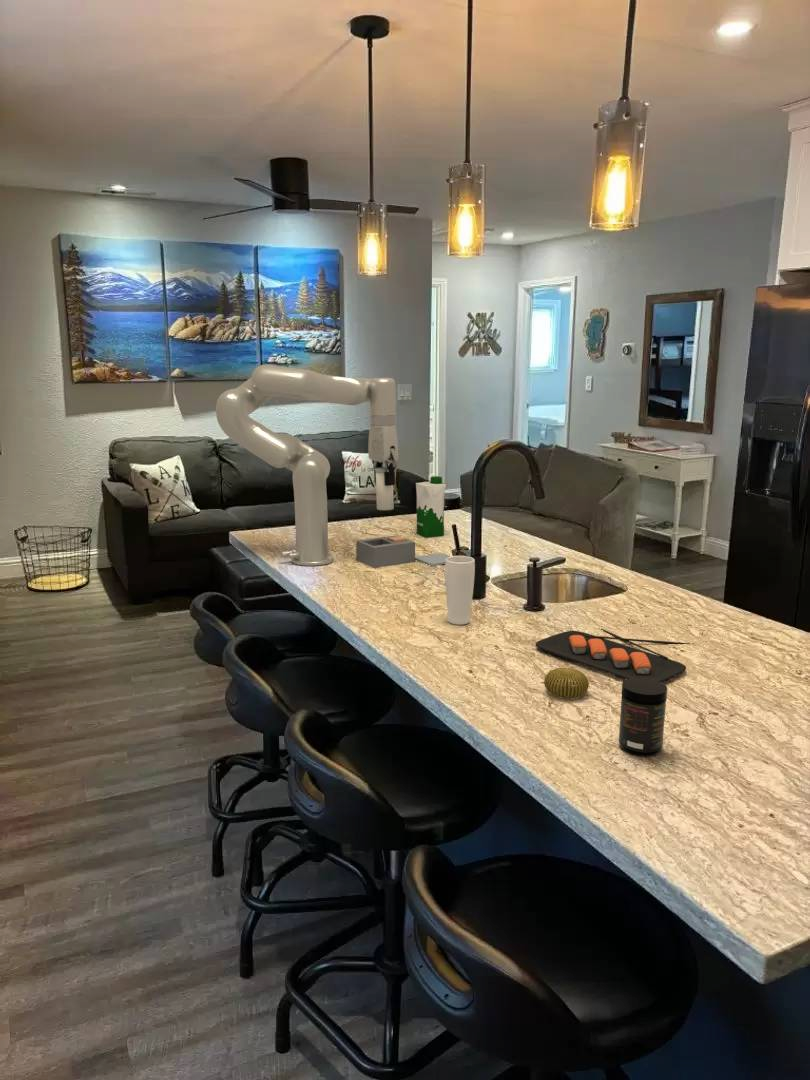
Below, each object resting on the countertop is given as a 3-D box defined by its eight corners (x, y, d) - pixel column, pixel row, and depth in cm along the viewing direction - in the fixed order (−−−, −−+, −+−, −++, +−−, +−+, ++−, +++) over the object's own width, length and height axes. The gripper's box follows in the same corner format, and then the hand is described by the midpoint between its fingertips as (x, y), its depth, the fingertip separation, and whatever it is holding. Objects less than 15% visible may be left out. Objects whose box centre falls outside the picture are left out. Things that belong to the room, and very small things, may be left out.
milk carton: (447, 536, 274) (448, 478, 270) (423, 538, 271) (424, 480, 266) (435, 531, 282) (436, 475, 278) (412, 533, 279) (412, 476, 274)
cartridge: (381, 510, 233) (380, 469, 231) (373, 508, 238) (372, 467, 235) (397, 508, 236) (396, 468, 233) (388, 506, 240) (387, 466, 237)
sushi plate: (529, 652, 169) (529, 634, 168) (613, 622, 188) (614, 606, 187) (649, 695, 148) (651, 675, 147) (731, 656, 167) (733, 639, 166)
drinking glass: (471, 627, 182) (473, 563, 179) (442, 625, 184) (443, 562, 180) (475, 618, 189) (476, 556, 185) (446, 616, 190) (447, 554, 187)
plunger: (394, 556, 241) (394, 540, 239) (388, 553, 244) (387, 537, 243) (406, 554, 243) (406, 538, 242) (399, 551, 246) (399, 536, 245)
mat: (431, 566, 235) (431, 564, 235) (413, 559, 243) (413, 557, 243) (459, 562, 240) (459, 559, 240) (440, 555, 248) (440, 552, 248)
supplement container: (665, 742, 128) (670, 681, 126) (659, 761, 122) (664, 698, 120) (622, 734, 131) (626, 674, 129) (614, 752, 125) (618, 690, 123)
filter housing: (374, 567, 233) (374, 547, 232) (356, 559, 243) (356, 540, 241) (415, 561, 241) (415, 542, 239) (396, 554, 250) (396, 535, 248)
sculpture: (535, 672, 146) (561, 661, 152) (535, 693, 147) (560, 681, 153) (573, 685, 141) (598, 672, 146) (572, 706, 142) (596, 693, 147)
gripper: (357, 420, 236) (359, 481, 240) (386, 424, 222) (388, 489, 226) (379, 419, 240) (381, 479, 244) (409, 422, 226) (410, 486, 230)
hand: (384, 483), depth 235 cm, fingers closed on cartridge, 5 cm apart
